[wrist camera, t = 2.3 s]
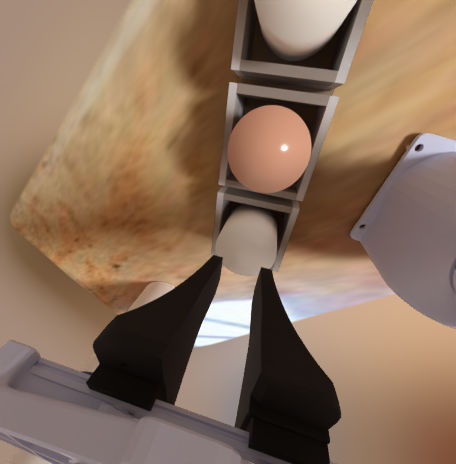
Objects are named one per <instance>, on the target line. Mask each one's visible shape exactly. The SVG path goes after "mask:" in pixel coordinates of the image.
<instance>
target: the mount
mask: <svg viewBox="0 0 456 464" xmlns="http://www.w3.org/2000/svg"><path fill="white" fill-rule="evenodd" d="M373 1H374V0H357V1H356V3H355V4H354V6H353V7H352V9H351V11H350V12H349V14H348V15H347V17H346V18H345V20H344V21H343V23H342V24H341V26H340V27H339V29H338V30H337V32H336V33H335V35H334V36H333V37H332V39H331V40H330V41H329V42H328V44H327V45H326V46H325V47H324V48H323V49H321V50H320V51H319V52H318V53H316V54H315V55H313V56H311V57H309V58H307V59H304V60H301V61H287V60H284V59H281V58H279V57H278V56H276V55H275V54H274V53H273V52H272V51H271V50H270V49H269V48H268V46H267V44H266V43H265V40H264V38H263V35H262V32H261V27H260V23H259V19H258V14H257V10H256V6H255V2H254V0H238V7H237V16H236V25H235V35H234V44H233V53H232V63H231V70H232V71H233V72H234V73H235V74H236V75H238V83H234V82H229V91H228V100H227V110H226V119H225V128H224V138H223V147H222V156H221V166H220V175H219V184H218V185H223V186H222V187H221V189H220V190H219V191H218V194H217V203H216V212H215V222H214V231H213V241H212V250H211V255H212V256H213V255H216V256H217V254H216V249H215V245H216V241H217V238H218V236H219V234H220V233H221V231H222V229H223V227H224V225H225V223H226V221H227V219H228V217H229V215H230V213H231V212H232V211H233V210H234V209H235V208H237V207H238V206H240V205H243V204H248V205H253V206H258V207H262V208H267V209H268V210H270V211H271V212H272V214H273V215H274V216H275V218H276V221H277V255H276V260H275V262H274V264H273V266H272V267H271V268H270V269H271V270H272V271H275V272H278V270H279V267H280V264H281V261H282V258H283V256H284V253H285V250H286V247H287V244H288V241H289V239H290V236H291V233H292V230H293V227H294V224H295V222H296V219H297V216H298V213H299V210H300V207H299V202H298V201H301V202H303V199H304V196H305V193H306V190H307V188H308V185H309V182H310V179H311V176H312V173H313V171H314V168H315V165H316V162H317V159H318V156H319V154H320V151H321V148H322V145H323V142H324V139H325V137H326V134H327V131H328V128H329V125H330V122H331V120H332V117H333V114H334V111H335V108H336V105H337V103H338V100H339V97H337V96H332V95H333V92H334V89H335V88H337V87H339V86H341V85H343V84H344V83H345V80H346V77H347V74H348V71H349V69H350V66H351V63H352V60H353V57H354V54H355V52H356V49H357V46H358V43H359V40H360V38H361V35H362V32H363V29H364V26H365V23H366V21H367V18H368V15H369V12H370V9H371V6H372V4H373ZM267 105H278V106H282V107H286V108H288V109H290V110H292V111H293V112H295V113H296V114H297V115H299V116H300V118H301V119H302V120H303V121H304V123H305V124H306V126H307V128H308V130H309V133H310V137H311V155H310V159H309V162H308V165H307V167H306V169H305V171H304V172H303V174H302V175H301V176H300V178H299V179H298V180H297V181H296V182H294V183H293V184H292V185H291V186H289V187H287V188H285V189H284V190H281V191H278V192H274V193H260V192H255V191H253V190H250V189H248V188H246V187H245V186H244V185H242V184H241V183H240V182H239V181H238V180H237V179H236V177H235V176H234V174H233V173H232V171H231V168H230V165H229V162H228V154H227V151H228V142H229V139H230V135H231V133H232V131H233V129H234V127H235V126H236V124H237V123H238V122H239V120H240V119H241V118H242V117H243V116H245V115H246V114H247V113H249V112H250V111H252V110H254V109H256V108H259V107H262V106H267Z"/></svg>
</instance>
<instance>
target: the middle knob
mask: <svg viewBox="0 0 456 464" xmlns="http://www.w3.org/2000/svg"><path fill="white" fill-rule="evenodd" d="M227 154H228V162H229V165H230V168H231V171H232V173H233V174H234V176H235V177H236V179H237V180H238V181H239V182H240V183H241V184H242V185H244V186H245V187H246V188H248V189H250V190H253V191H255V192H260V193H274V192H278V191H281V190H284V189H285V188H287V187H289V186H291V185H292V184H293V183H294V182H296V181H297V180H298V179H299V178H300V176H301V175H302V174H303V172H304V171H305V169H306V167H307V165H308V162H309V159H310V155H311V137H310V133H309V130H308V128H307V126H306V124H305V123H304V121H303V120H302V119H301V118H300V116H299V115H297V114H296V113H295V112H293V111H292V110H290V109H288V108H286V107H282V106H278V105H267V106H262V107H259V108H256V109H254V110H252V111H250V112H249V113H247V114H246V115H245V116H243V117H242V118H241V119H240V120H239V122H238V123H237V124H236V126H235V127H234V129H233V131H232V133H231V135H230V139H229V142H228V151H227Z"/></svg>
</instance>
